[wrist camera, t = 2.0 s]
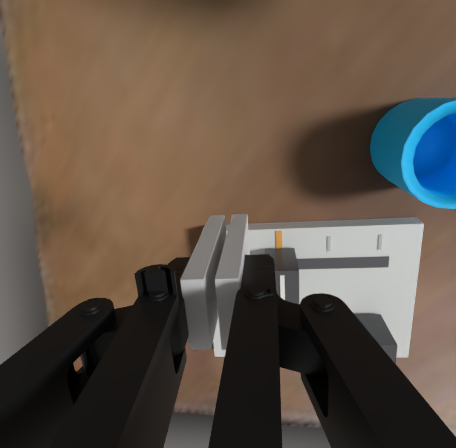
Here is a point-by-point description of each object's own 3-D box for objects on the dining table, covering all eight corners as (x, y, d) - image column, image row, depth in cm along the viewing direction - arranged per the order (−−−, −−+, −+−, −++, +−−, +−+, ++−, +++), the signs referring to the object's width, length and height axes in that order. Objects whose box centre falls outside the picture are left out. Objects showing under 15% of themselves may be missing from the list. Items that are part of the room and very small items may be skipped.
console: (204, 225, 38) (201, 232, 36) (415, 217, 36) (424, 224, 34) (217, 345, 43) (214, 357, 41) (401, 345, 41) (408, 358, 39)
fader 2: (351, 314, 37) (364, 345, 33) (380, 314, 37) (397, 345, 32) (349, 344, 39) (362, 379, 34) (377, 345, 38) (394, 379, 34)
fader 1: (264, 248, 36) (265, 271, 31) (294, 248, 35) (299, 271, 31) (266, 283, 37) (266, 310, 32) (294, 282, 37) (299, 310, 32)
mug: (358, 175, 35) (385, 197, 27) (386, 90, 32) (425, 87, 24) (477, 200, 35) (538, 228, 27) (516, 116, 32) (596, 121, 24)
